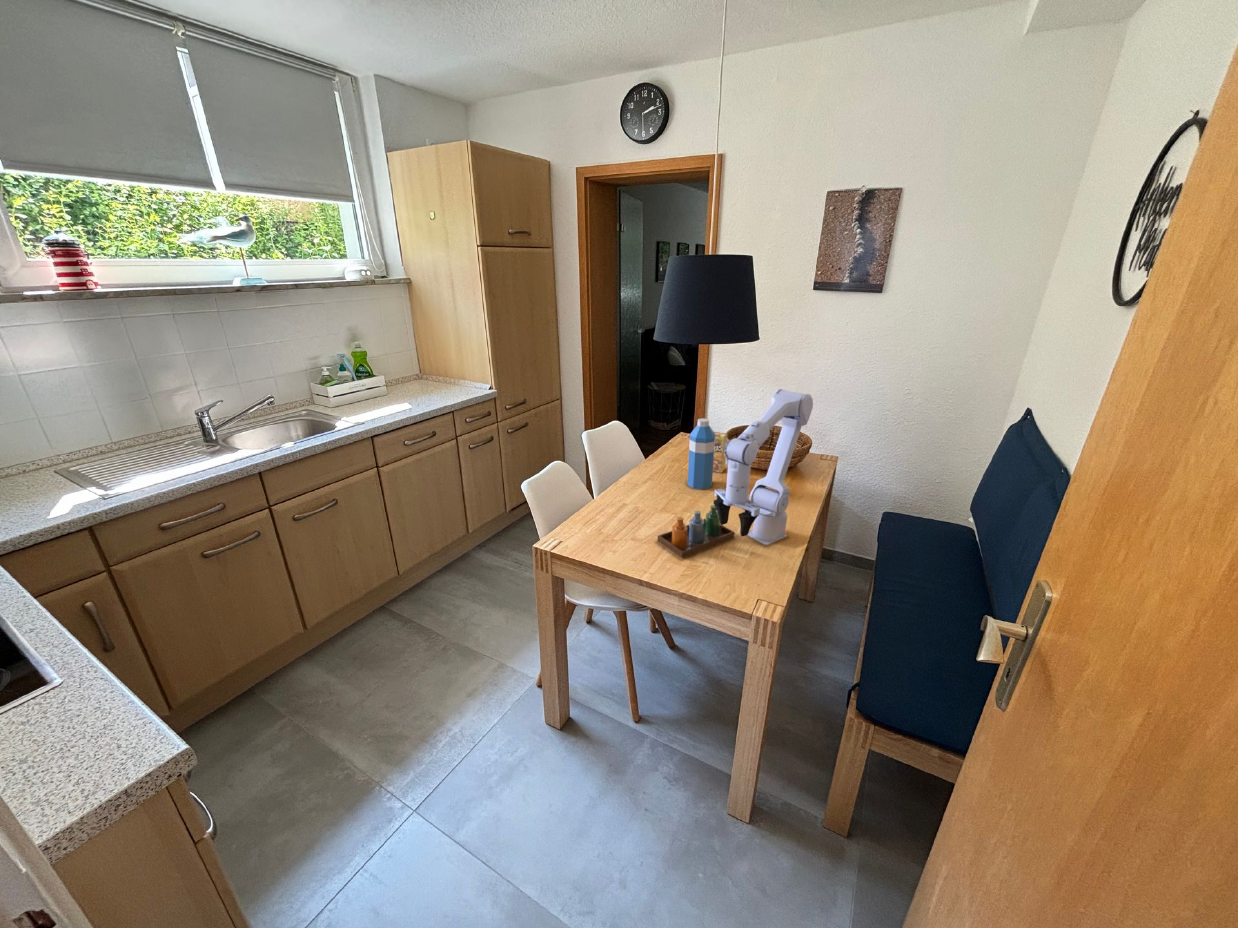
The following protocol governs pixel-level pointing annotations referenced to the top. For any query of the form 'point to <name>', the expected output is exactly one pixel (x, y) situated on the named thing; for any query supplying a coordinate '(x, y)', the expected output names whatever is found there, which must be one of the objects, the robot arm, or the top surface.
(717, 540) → the tray
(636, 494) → the top surface
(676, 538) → the amber bottle
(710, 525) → the green bottle
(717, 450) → the candy box
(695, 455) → the water bottle
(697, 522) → the blue-grey bottle
